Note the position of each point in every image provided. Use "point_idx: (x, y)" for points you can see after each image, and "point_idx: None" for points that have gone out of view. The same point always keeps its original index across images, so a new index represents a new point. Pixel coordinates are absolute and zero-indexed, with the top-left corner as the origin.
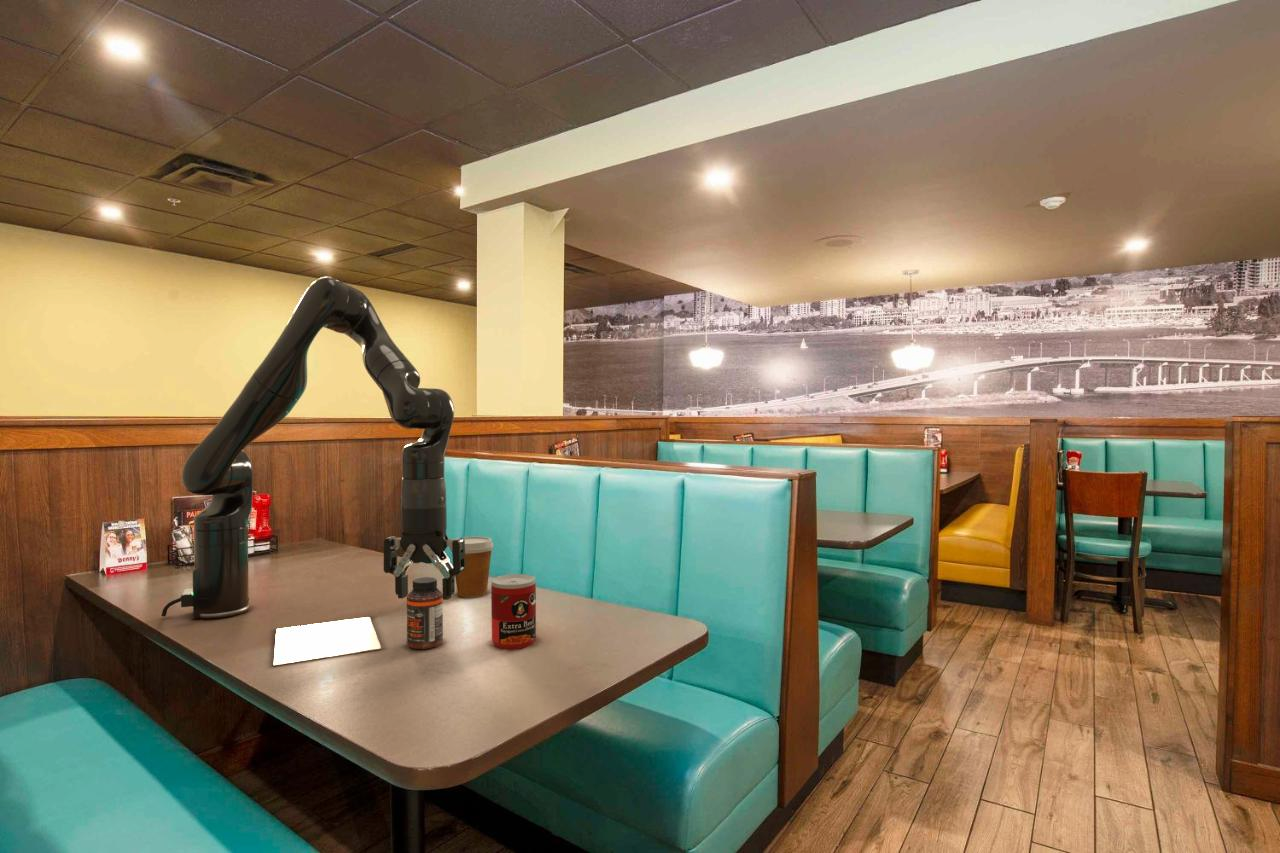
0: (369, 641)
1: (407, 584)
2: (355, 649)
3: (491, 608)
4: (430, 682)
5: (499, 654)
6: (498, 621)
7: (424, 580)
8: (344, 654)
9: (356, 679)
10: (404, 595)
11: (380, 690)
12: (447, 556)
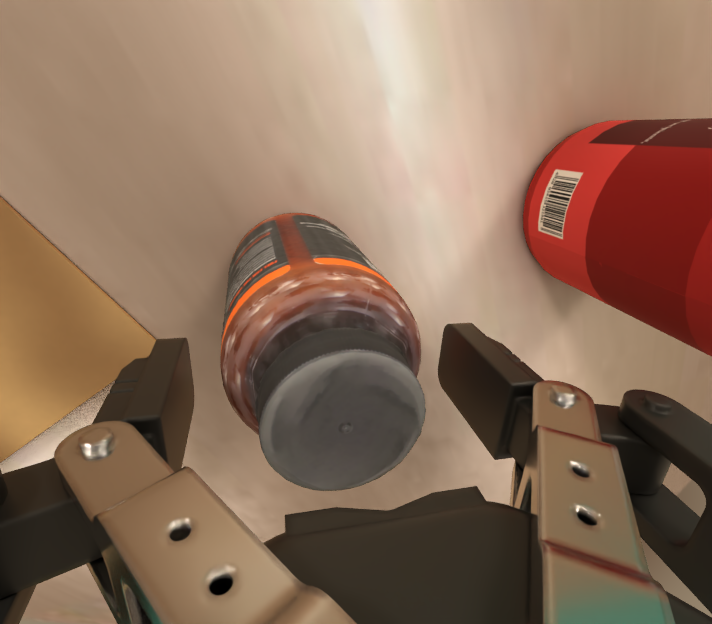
0: (50, 290)
1: (174, 373)
2: (68, 375)
3: (610, 269)
4: (426, 491)
5: (549, 313)
6: (608, 304)
7: (356, 450)
8: (65, 415)
9: (245, 524)
10: (190, 378)
11: None
12: (620, 477)
